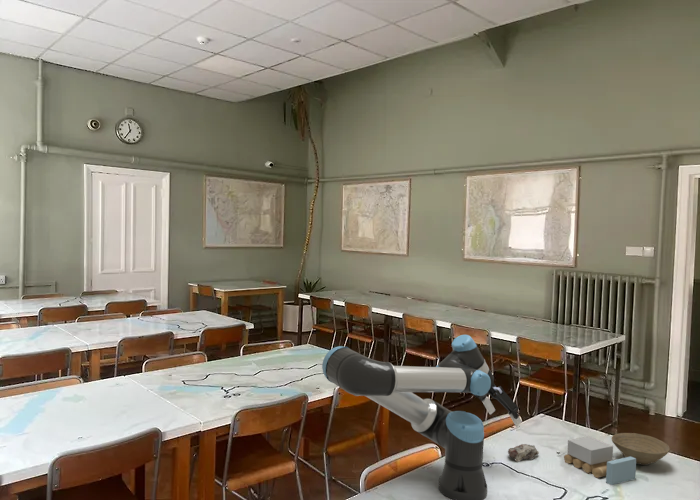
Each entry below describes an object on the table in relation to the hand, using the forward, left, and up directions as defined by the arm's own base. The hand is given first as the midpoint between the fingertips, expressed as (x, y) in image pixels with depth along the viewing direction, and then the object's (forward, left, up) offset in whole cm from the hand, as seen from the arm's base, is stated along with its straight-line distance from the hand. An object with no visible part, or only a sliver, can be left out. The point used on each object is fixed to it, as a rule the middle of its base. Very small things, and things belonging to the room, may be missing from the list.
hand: (505, 417), depth 187 cm
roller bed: (+26, -17, -15) cm, 35 cm away
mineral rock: (+9, 0, -16) cm, 18 cm away
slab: (+26, -15, -12) cm, 33 cm away
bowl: (+46, -20, -16) cm, 53 cm away
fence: (+26, -28, -15) cm, 41 cm away
